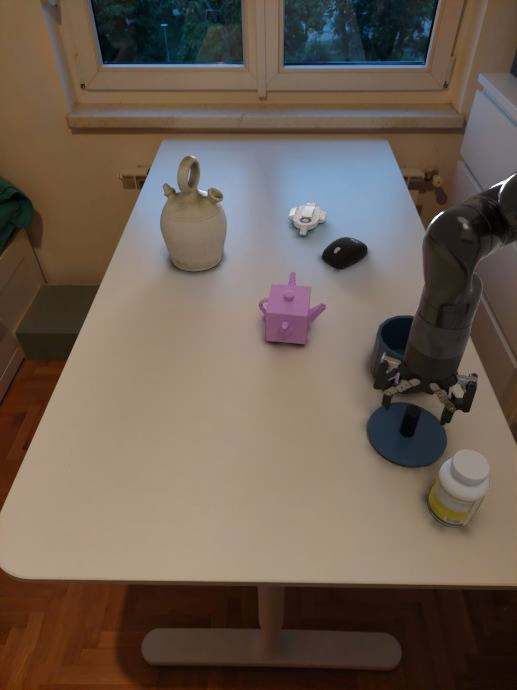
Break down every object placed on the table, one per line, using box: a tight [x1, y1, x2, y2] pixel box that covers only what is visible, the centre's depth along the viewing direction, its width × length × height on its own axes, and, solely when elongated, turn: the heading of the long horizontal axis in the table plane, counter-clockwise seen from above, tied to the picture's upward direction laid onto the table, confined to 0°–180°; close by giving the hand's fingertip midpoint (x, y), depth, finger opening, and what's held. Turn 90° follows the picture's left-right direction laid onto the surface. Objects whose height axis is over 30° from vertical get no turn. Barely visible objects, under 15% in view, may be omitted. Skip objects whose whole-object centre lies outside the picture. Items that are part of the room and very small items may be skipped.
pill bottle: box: [427, 448, 491, 528], centre depth 70 cm, size 6×6×12 cm
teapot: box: [258, 271, 327, 345], centre depth 99 cm, size 18×13×10 cm
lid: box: [366, 401, 448, 468], centre depth 81 cm, size 13×13×7 cm
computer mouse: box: [321, 236, 369, 270], centre depth 121 cm, size 8×12×4 cm, turn 129°
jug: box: [159, 155, 228, 272], centre depth 114 cm, size 15×16×25 cm
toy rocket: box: [288, 201, 328, 237], centre depth 134 cm, size 16×10×2 cm, turn 166°
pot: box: [370, 314, 421, 395], centre depth 91 cm, size 12×12×8 cm
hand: (414, 413), depth 80 cm, fingers open, 8 cm apart
